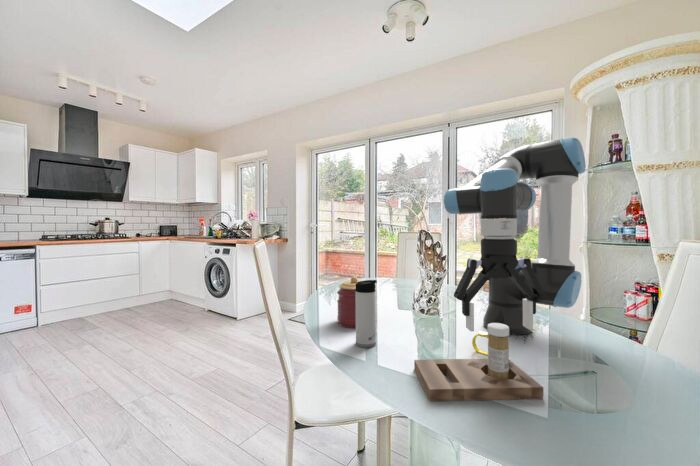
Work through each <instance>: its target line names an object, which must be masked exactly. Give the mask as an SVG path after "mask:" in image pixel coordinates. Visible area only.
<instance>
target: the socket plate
mask: <svg viewBox="0 0 700 466" xmlns="http://www.w3.org/2000/svg"><path fill="white" fill-rule="evenodd" d="M413 361H414V364H413V366H414V368H413V369H414V373H416V376H417V378H418V379H419V381H420V383H421V386H422V388H423V389H424V392H425V394H426V396H427V399H428V401H429V402H445V401H446V402H453V401H456V402H461V401H462V402H463V401H501V400H502V401H504V400H509V401H512V400H513V401H515V400H543V399H544V386H542V384H540V383H539V382H538V381H536V380H535V378H533V377H531V376H530V375H529V374H528V373H526V372H525V371H524V370H523V369H522V368H520V367H519V366H518V365H516V364H515V363H514V362H513V361H511V360H510V359H509V371H508V379H496V378H493V377H490V376H488V358H450V359H449V358H447V359H446V358H443V359H439V358H438V359H433V358H431V359H414V360H413ZM444 374H445V375H446V376H447V378H448V377H449V378H448V379H449V380H450V382H449V381H448V380H447V378H446V376H444Z"/></svg>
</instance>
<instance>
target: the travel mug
mask: <svg viewBox="0 0 700 466" xmlns="http://www.w3.org/2000/svg"><path fill="white" fill-rule="evenodd" d="M359 281H360V282H357V283H356V291H355V292H356V293H355V301H356V328H355V345H356V346H357V347H359V348H361V349H362V348H363V349H369V348H371V349H372V348H373V347H375V346H376V344H377V315H376V314H377V313H376V312H377V310H376V309H377V308H376V307H377V305H376V304H377V303H376V302H377V300H376V299H377V296H376V284H377V283H378V282H377V279H368V280H359Z"/></svg>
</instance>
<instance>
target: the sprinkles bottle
mask: <svg viewBox="0 0 700 466" xmlns="http://www.w3.org/2000/svg"><path fill="white" fill-rule="evenodd" d="M486 330H487V331H486V332H487V333H488V338H487V341H488V343H487V353H488V355H487V359H488V375H487V376H490V377H493V378H496V379H509V378H508V371H509V360H510V350H509V349H510V348H509V337H510V334H509V327H508V326H507V325H505V324H501V323H489V324H488V326H487V328H486Z"/></svg>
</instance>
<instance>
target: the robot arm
mask: <svg viewBox="0 0 700 466" xmlns="http://www.w3.org/2000/svg"><path fill="white" fill-rule="evenodd" d="M585 171H586V158H585V152H584V149H583V145H582V143H581V141H580V140H579V139H578V138H577V137H575V136H574V137H564V138H559V139H553V140H549V141H543V142H538V143H532V144H527V145H522V146H520V147H517V148H516V149H513V150H511V151H509V152H507V153H506V154H503V155H502V156H501V157H499V158H498V159H497V160H495V161H494V163H493V165H492V166H491V167H490V168H488V169H487V170H485V171H484V172H482V173H481V174H480V175H478V176H477V177H475V178H474V179H472V180H471V181H470V182H468V183H467V184H465V185H463V186H461V187H455V188H449V189H447V190H446V191H445V194H444V196H443V205H444V209H445V211H446V212H447V213H448V214H450V215H473V214H474V215H476V214H480V236H481V237H483V238H481V239H480V255H481V257H480V259H474V258H468V259H467V263H466V268H465V270H464V272H463V274H462V276H461V278H460V281H459V283H458V285H457V287H456V288H455V291H454V293H453V297H454V298H455V299H457V300H459V301H461V312H462V315H463V316H464V317H465V328H466V329H467V330H468V331H469V332H475V303H474V302H473V301H472V300H473V299H474V298H475V297H476V295H477V294H478V293H479V291H480V290H481V289H482V287H484V285H485V284H486V283H487V282H488V305H487V308H486V310H485V313H484V317H483V322H482V323H483V325H482V326H483V327H484V328H486V329H487V326H488V324H489V323H501V324H505V325H507V326H508V327H509V335H517V336H518V335H527V334H530V333H531V332H532V331H533V330H534V315H536V314H537V305H545V306H550V307H553V308H557V307H558V308H564V309H565V308H567V309H569V308H572V307H573V306H575V305H576V303H577V300H578V298H579V295H580V291H581V288H582V287H581V286H582V274H581V272H580V271H578V270H576V264H574V263H573V261H571V260H570V259H571V258H570V252H571V251H570V248H571V229H572V228H571V227H572V226H571V224H572V223H571V222H572V201H573V200H572V198H573V185H574V184H576V182H578V181H579V175H581V174H583V173H585ZM526 179H527V180H530V179H535V183H536V184H537V185H538V186H539V187H540V194H539V195H540V197H539V212H538V214H539V215H538V216H539V217H538V239H537V258H536V259H534V260H533V261H532V260H531V258H529V257H522V256H521V257H519V258H517V254H518V240H517V238H515V237H516V236H518V213H519V214H520V213H523V212H526V211H528V210H531V209H532V208H533V206H534V205H535V204H536V199H537V192H536V190H535V189H534V187H532V186H531V185H528V183H525V182H522V181H521V182H520V180H526ZM479 266H480V267H481V268H482V269H481V270H480V271H479V273H478V275H477V276H476V277H475V279H474V281H472V280H473V278H474V275H475V274H476V271H477V270H478V269H479ZM471 282H472V283H471ZM470 283H471V284H470Z"/></svg>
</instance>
